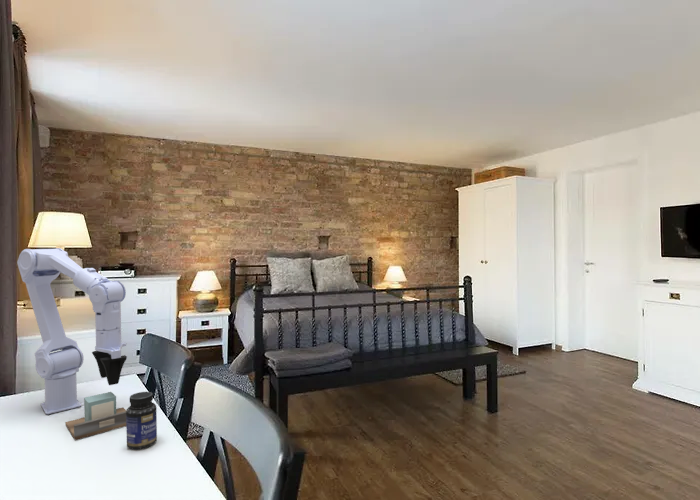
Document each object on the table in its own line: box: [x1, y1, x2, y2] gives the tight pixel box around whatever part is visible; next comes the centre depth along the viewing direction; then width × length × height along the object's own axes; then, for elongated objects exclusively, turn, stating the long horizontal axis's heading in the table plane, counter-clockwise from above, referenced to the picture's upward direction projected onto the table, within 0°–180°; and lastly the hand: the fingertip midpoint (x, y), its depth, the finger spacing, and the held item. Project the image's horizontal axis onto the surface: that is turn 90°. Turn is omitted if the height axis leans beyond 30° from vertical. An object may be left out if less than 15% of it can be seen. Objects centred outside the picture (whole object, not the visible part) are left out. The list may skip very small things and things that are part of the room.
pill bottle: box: [125, 391, 158, 451], centre depth 95 cm, size 6×6×11 cm
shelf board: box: [65, 407, 127, 441], centre depth 105 cm, size 11×13×3 cm
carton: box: [83, 391, 117, 422], centre depth 105 cm, size 5×6×6 cm
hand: (109, 380), depth 110 cm, fingers open, 7 cm apart
